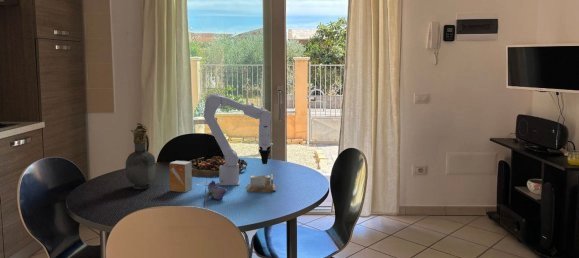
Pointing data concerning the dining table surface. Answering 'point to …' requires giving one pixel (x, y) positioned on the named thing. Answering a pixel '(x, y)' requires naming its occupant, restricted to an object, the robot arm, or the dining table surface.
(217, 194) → the flower
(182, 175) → the small box
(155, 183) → the dining table surface
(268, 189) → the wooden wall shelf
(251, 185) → the gray rectangular block
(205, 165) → the food dish
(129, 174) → the pitcher
